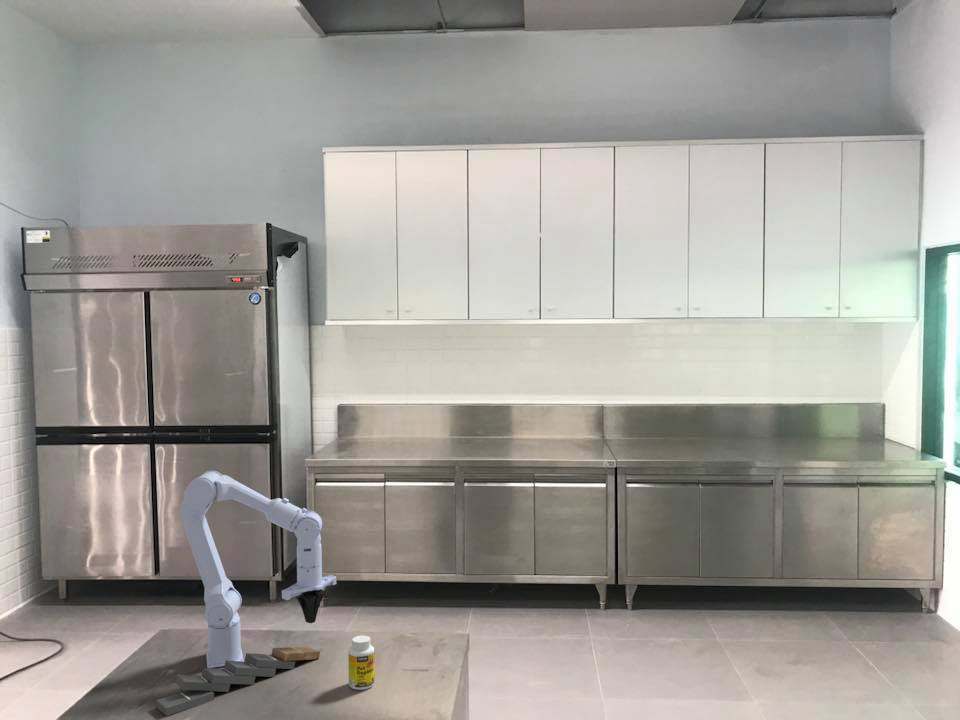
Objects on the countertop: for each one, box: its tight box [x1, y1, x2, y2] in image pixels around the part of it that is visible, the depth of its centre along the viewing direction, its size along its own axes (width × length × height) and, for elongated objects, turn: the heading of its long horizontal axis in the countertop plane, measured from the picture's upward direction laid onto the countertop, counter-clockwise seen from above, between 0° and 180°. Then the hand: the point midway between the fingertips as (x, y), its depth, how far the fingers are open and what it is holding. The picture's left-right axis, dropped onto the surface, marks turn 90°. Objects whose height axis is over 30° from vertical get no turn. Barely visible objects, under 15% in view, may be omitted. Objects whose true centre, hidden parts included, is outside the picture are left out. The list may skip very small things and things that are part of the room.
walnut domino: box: [270, 645, 321, 661], centre depth 182 cm, size 2×5×10 cm
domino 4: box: [223, 661, 277, 678], centre depth 173 cm, size 2×5×10 cm
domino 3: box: [200, 667, 257, 686], centre depth 169 cm, size 2×5×10 cm
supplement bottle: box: [347, 635, 375, 691], centre depth 169 cm, size 6×6×10 cm
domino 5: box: [244, 652, 296, 670], centre depth 177 cm, size 2×5×10 cm
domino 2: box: [155, 690, 215, 717], centre depth 162 cm, size 2×5×10 cm
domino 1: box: [174, 673, 231, 693], centre depth 166 cm, size 2×5×10 cm
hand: (310, 621), depth 185 cm, fingers closed
